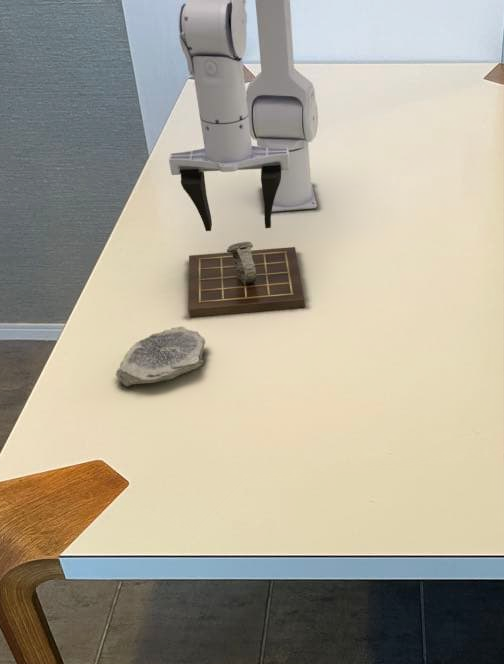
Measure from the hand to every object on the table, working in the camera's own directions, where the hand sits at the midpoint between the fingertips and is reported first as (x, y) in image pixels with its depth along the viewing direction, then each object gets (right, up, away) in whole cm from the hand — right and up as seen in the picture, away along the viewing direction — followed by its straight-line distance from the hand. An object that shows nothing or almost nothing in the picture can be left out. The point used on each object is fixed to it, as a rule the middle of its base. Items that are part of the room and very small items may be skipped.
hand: (238, 226), depth 111 cm
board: (0, -6, +6) cm, 8 cm away
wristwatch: (0, -6, +4) cm, 7 cm away
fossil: (-7, -20, -9) cm, 23 cm away
